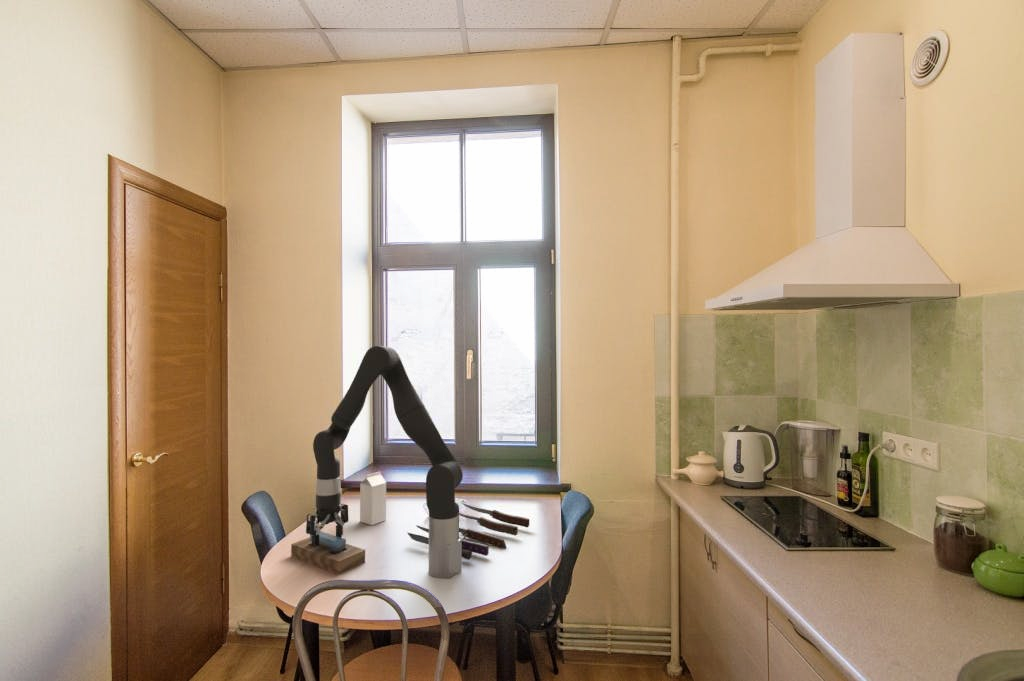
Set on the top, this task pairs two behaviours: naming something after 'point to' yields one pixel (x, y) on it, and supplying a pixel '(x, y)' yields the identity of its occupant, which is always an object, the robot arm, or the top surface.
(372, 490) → the milk carton
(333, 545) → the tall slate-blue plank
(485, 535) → the knife set
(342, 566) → the socket block
